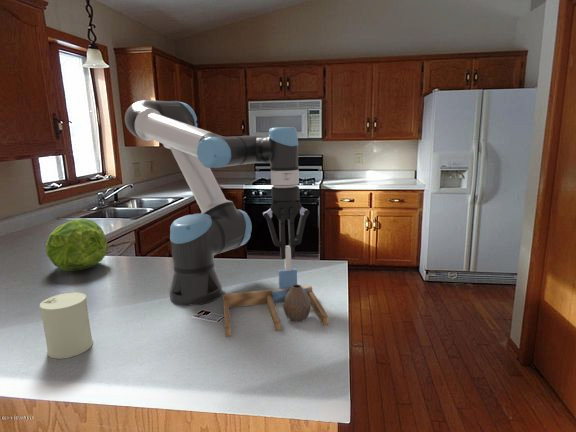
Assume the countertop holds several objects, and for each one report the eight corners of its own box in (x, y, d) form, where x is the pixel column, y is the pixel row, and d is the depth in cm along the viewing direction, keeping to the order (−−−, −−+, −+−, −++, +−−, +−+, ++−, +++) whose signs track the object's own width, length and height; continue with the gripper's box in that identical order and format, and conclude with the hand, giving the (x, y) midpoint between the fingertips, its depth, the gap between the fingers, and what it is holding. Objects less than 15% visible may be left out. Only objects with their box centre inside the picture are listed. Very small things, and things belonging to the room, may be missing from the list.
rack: (225, 336, 94) (224, 322, 93) (223, 306, 111) (223, 294, 110) (327, 324, 98) (327, 311, 97) (311, 297, 115) (311, 285, 114)
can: (59, 338, 95) (51, 291, 93) (99, 336, 96) (92, 289, 93) (38, 360, 86) (29, 308, 84) (83, 357, 87) (75, 305, 84)
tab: (279, 291, 113) (279, 271, 112) (279, 289, 114) (278, 269, 113) (297, 289, 114) (296, 269, 113) (296, 288, 115) (295, 268, 114)
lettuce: (91, 257, 161) (75, 214, 156) (122, 259, 146) (106, 212, 142) (41, 278, 146) (23, 231, 142) (70, 282, 132) (51, 231, 128)
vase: (314, 314, 104) (313, 282, 102) (306, 326, 98) (305, 292, 96) (289, 311, 106) (288, 279, 105) (279, 322, 100) (278, 289, 98)
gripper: (262, 188, 103) (266, 275, 108) (312, 186, 105) (313, 271, 110) (259, 185, 110) (263, 267, 115) (305, 182, 112) (307, 263, 117)
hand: (288, 269), depth 113 cm, fingers closed
